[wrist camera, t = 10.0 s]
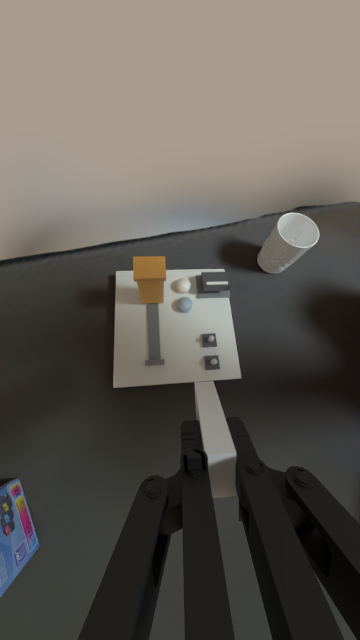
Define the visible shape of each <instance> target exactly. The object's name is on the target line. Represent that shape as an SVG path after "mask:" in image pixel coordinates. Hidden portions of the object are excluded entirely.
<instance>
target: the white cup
mask: <svg viewBox="0 0 360 640" xmlns="http://www.w3.org/2000/svg"><path fill="white" fill-rule="evenodd" d="M318 239H319V231H318V228H317V226H316V224H315V223H314V222H313V221H312V220H311V219H310V218H308V217H307V216H305V215H302V214H299V213H287V214H285V215H283V216H282V217H281V218H280V219H279V220H278V222H277V224H276V225H275V227H274V228H273V230H272V231H271V233H270V235H269V236H268V238H267V240H266V241H265V243H264V245H263V247H262V249H261V250H260V252H259V253H258V256H257V262H258V264H259V266H260V267H261V268H262V269H263V271H265V272H267V273H270V274H278V273H280V272H282V271H283V270H285V269H286V268H287V267H288V266H290V265H291V264H292V263H293V262H294V261H296V260H297V259H298V258H299V257H301V256H302V255H303V254H304V253H305V252H306V251H308V250H309V249H310V248H311V247H312V246H313V245H315V244H316V243H317V241H318Z"/></svg>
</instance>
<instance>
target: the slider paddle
mask: <svg viewBox="0 0 360 640" xmlns="http://www.w3.org/2000/svg"><path fill="white" fill-rule="evenodd" d="M133 279H134V282H136V281H137V285H138V289H139V293H140V298H141V302H142V304H148V303H164V281H166V266H165V256H159V257H133Z"/></svg>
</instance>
